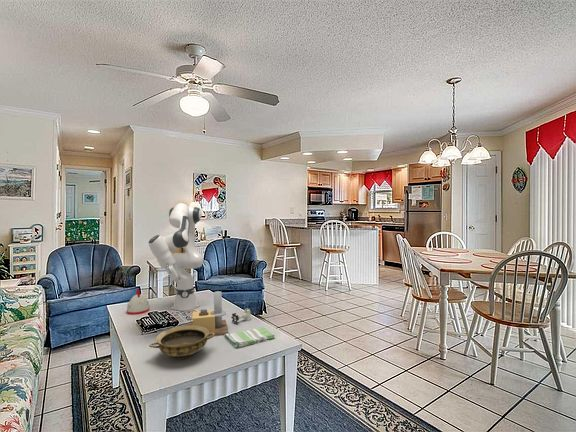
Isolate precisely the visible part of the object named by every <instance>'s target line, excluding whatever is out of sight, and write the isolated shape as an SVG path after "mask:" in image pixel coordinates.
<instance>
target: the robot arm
mask: <svg viewBox="0 0 576 432" xmlns="http://www.w3.org/2000/svg"><path fill="white" fill-rule="evenodd" d="M168 216H169V217H168V223H169V224H170V225H171V227H173V228H174V229H178V230H177V231H175V232H173V233H170V234H168V235H164V236H163V235H160V234H157V235H154V236H152V237H151V238H150V239H149V240H148V242H147V243H148V246H149V249H150V251H151V253H152V254H153V256H154V257H155V258H156V261H157V263H158V264H159V266H160V268H161V269H164V270H165V271H166V272H167V275H168V277H169V278H170V280H171V281H172V282H174V283H176V289H175V293H176V294H175V296H174V297H173V305H172V306H171V308H170V309H171V310H175V311H181V312H182V311H183V312H185V311H190V310H194V309H196V308H199V307H200V304H199V303H198V302H197V294H196V293H195V287H194V277H193V275H192V274H191V273H189V272H187V269H188V270H190V269H192V270H193V269H198V268H201V267H202V266H203V263H204V257H203V255H202V254H201V253H200V252H199V251H198V250H197V248H196V244H195V243H196V242H195V241H196V239H195V237H196V224H197V223H198V222H200V220H201V218H202V216H203V215H202V210H201V208H200V207H197V206H188V205H187V204H186V203H184V202H179V203H177V204H176V205H175V206H174V207H171V208H170V209H169V212H168ZM181 248H183V250H185V252H175V253H174V252H173V251H176V250H178V249H181ZM172 252H173V253H172Z"/></svg>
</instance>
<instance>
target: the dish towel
mask: <svg viewBox="0 0 576 432" xmlns="http://www.w3.org/2000/svg"><path fill="white" fill-rule="evenodd" d="M223 336H224V339H225V340H226V341H227V342H228V343H229V344H230V345H231V346H232V347H233V348H234V349H238V347H239V348H244V347H247V345H248V346H252V345H255V344H254V343H256V344H259V343H258V342H260V343H264V342H263V341H265V342H267V341H266V340H269V341H271V340H275V339H276V338H275V334H273V333H271V332H270V331H268V330H267V329H266V328H264V326H263V327H262V326H261V327H257V328H252V329H248V330H244V331H238V332H234V333H229V332H228V333H227V334H225V335H223ZM251 344H252V345H251ZM243 346H244V347H243Z"/></svg>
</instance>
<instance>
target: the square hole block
mask: <svg viewBox="0 0 576 432" xmlns="http://www.w3.org/2000/svg"><path fill="white" fill-rule="evenodd" d="M222 295H223V294H222V291H219V290H217V291H214V292H213V309H207V315H204V316H201V310H197V311H192V323H193V326H201V327H204V328H206V329H208V331H215V327H216V328H219V327H222V320H223V317H224V316H226V315H227V312H226V311H225V310H223V309H222V308H223V307H222V306H223V304H222V303H223V299H222V298H223V297H222Z"/></svg>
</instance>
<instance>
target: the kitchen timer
mask: <svg viewBox="0 0 576 432" xmlns="http://www.w3.org/2000/svg"><path fill="white" fill-rule="evenodd" d="M149 304H150V303H149V300H148V299H147V298H146V296H145V295H142V294H141V293H140V290H139V289H136V291H135V294H134V295H133V296H132V297H131V299H129V301H128V302H127V307H126V313H127V315H130V316H134V315H142V314H146V313H147V312H149V311H150V305H149Z"/></svg>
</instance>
